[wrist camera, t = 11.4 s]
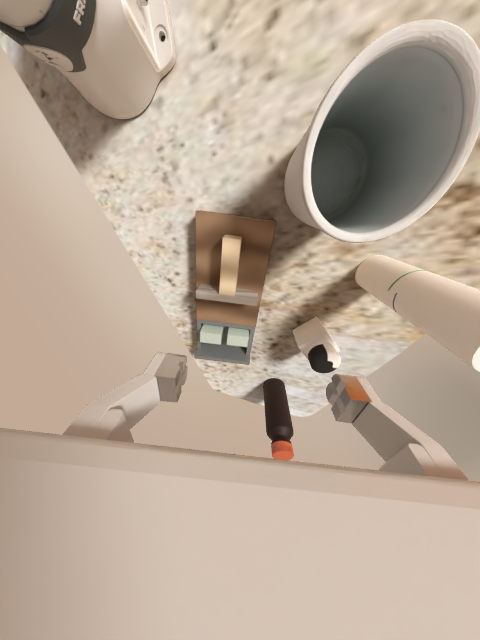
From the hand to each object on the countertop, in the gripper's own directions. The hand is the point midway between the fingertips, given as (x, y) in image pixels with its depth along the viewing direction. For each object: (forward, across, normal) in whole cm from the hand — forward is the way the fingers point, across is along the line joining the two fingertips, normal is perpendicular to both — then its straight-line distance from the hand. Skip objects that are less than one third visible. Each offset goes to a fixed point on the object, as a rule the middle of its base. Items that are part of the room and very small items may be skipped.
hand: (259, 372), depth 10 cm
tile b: (+30, +1, +18) cm, 35 cm away
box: (+33, +4, +21) cm, 39 cm away
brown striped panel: (+33, +4, +5) cm, 34 cm away
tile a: (+30, +7, +18) cm, 36 cm away
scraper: (+29, +4, +3) cm, 29 cm away
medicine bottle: (+33, -18, +18) cm, 42 cm away
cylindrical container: (+33, -26, +1) cm, 42 cm away
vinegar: (+33, -13, +40) cm, 54 cm away
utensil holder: (+33, -10, -13) cm, 37 cm away
